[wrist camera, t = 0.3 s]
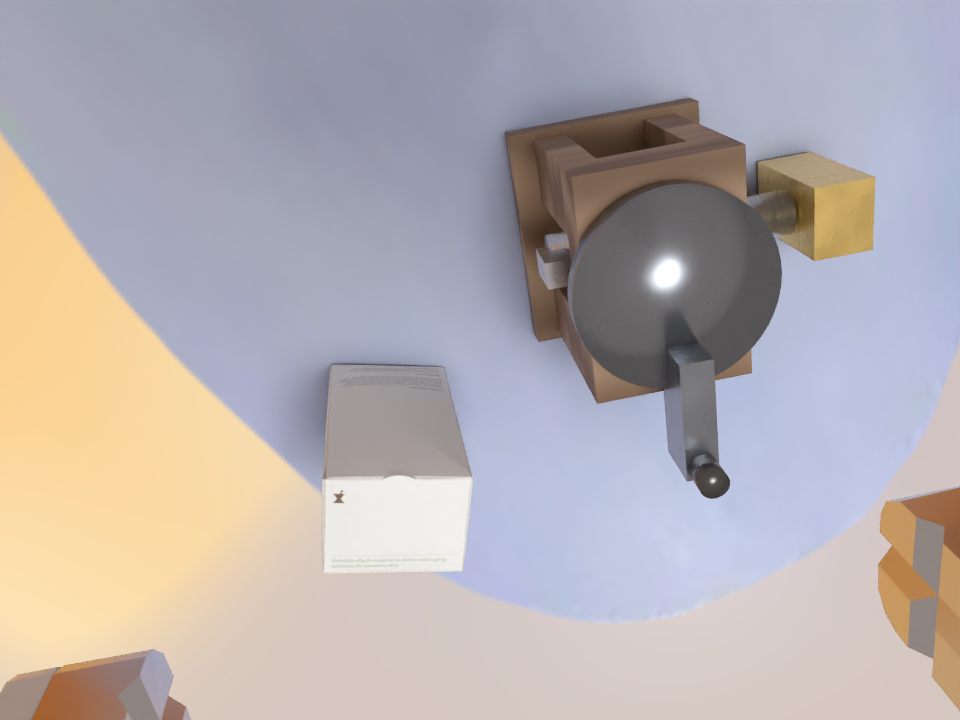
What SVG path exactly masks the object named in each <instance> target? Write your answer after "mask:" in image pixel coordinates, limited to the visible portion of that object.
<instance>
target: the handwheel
mask: <svg viewBox="0 0 960 720" xmlns="http://www.w3.org/2000/svg"><path fill="white" fill-rule="evenodd" d="M781 277H782V270H781V259H780V254H779V250H778V246H777V244H776V241H775V238H774V236H773V234H772V232H771V230H770V229H769V227H768V225H767V224H766V222H765V221H764V220H763V219H762V217H761V216H760V215H759V214H758V213H757V212H756V211H755V210H754V209H753V208H752V207H751V206H749V205H748V204H746V203H745V202H743V201H742V200H741V199H739V198H737V197H736V196H734V195H732V194H731V193H729V192H727V191H725V190H723V189H721V188H719V187H717V186H714V185H711V184H707V183H704V182H698V181H692V180H672V181H664V182H659V183H655V184H651V185H648V186H645V187H643V188H640V189H638V190H635V191H633V192H631V193H630V194H628V195H626V196H624V197H622V198H621V199H619V200H618V201H617V202H615V203H614V204H612V205H611V206H610V207H609V208H608V209H606V210H605V211H604V212H603V213H602V214H601V215H600V216H599V217H598V218H597V219H596V221H595V222H594V223H593V224H592V225H591V226H590V228H589V229H588V231H587V232H586V234H585V235H584V237H583V238H582V240H581V242H580V244H579V246H578V248H577V250H576V252H575V255H574V258H573V261H572V264H571V268H570V273H569V278H568V290H567V291H568V305H569V310H570V315H571V318H572V321H573V324H574V326H575V328H576V330H577V332H578V334H579V336H580V338H581V340H582V341H583V343H584V345H585V347H586V348H587V350H588V351H589V352H590V354H591V355H592V357H593V358H594V359H595V360H596V361H597V362H598V363H599V364H600V365H601V366H602V367H603V368H604V369H606V370H607V371H608V372H610V373H611V374H612V375H614V376H616V377H618V378H620V379H621V380H623V381H626V382H629V383H631V384H634V385H638V386H642V387H646V388H655V389H664V400H665V413H666V426H667V438H668V451H669V453H670V455H671V457H672V458H673V460H674V461H675V463H676V465H677V466H678V468H679V469H680V471H681V472H682V474H683V476H684V477H685V479H686V480H687V482H688V481H692V480H693V481H694V482H695V484H696V485H697V487H698V489H699V490H700V492H701V493H702V495H703V496H705V497H707V498H718V497H720V496H722V495H724V494H725V493H726V492H727V490H728V489H729V486H730V480H729V478H728V476H727V475H726V473H725V472H724V470H723V469H722V468H721V466H720V465H719V454H718V433H717V413H716V393H715V376H716V375H718V374H720V373H722V372H724V371H725V370H727V369H728V368H730V367H731V366H733V365H734V364H735V363H736V362H738V361H739V360H740V359H741V358H742V357H744V356H745V355H746V354H747V353H748V352H749V350H750V349H751V348H752V347H753V346H754V345H755V344H756V342H757V341H758V340H759V339H760V337H761V336H762V334H763V333H764V331H765V329H766V328H767V326H768V325H769V323H770V320H771V318H772V316H773V314H774V312H775V308H776V305H777V302H778V299H779V294H780V289H781Z"/></svg>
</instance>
